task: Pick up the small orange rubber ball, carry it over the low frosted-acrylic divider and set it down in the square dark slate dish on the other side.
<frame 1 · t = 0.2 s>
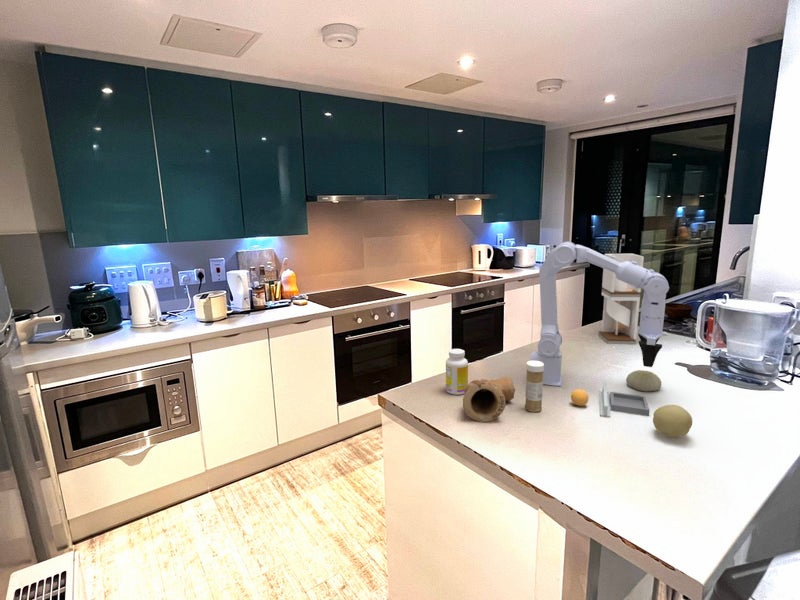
hand: (647, 362, 123), 10 cm above the counter, fingers open, 7 cm apart
ball: (579, 397, 118), point 2 cm above the counter
sprinkles bottle: (533, 409, 117), on the counter
tall curved cream stand: (616, 340, 176), on the counter
clay pipe: (489, 411, 117), on the counter
divider: (604, 404, 119), on the counter
supplement bottle: (456, 391, 130), on the counter
dish: (628, 406, 117), on the counter
sea urchin shell: (642, 387, 130), on the counter
potato: (670, 436, 102), on the counter
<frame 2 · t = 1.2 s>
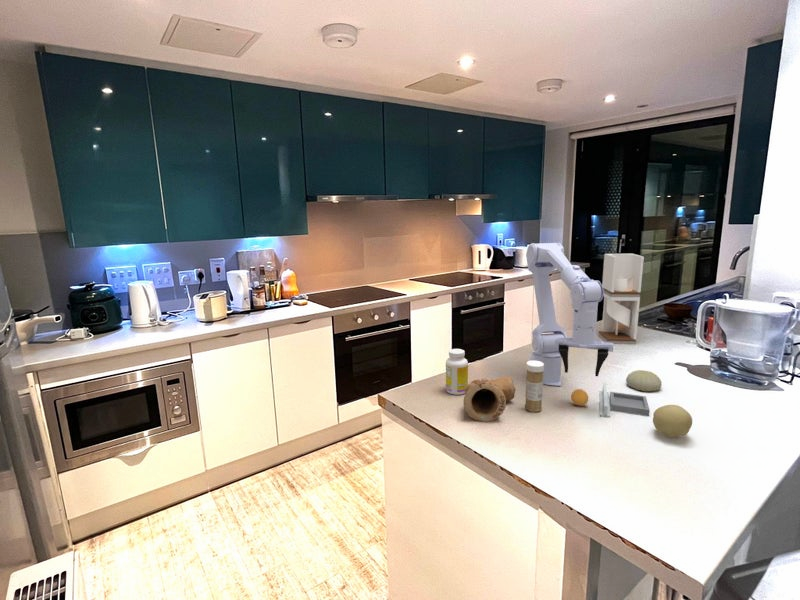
hand: (581, 373, 117), 9 cm above the counter, fingers open, 7 cm apart
nothing on the counter moved.
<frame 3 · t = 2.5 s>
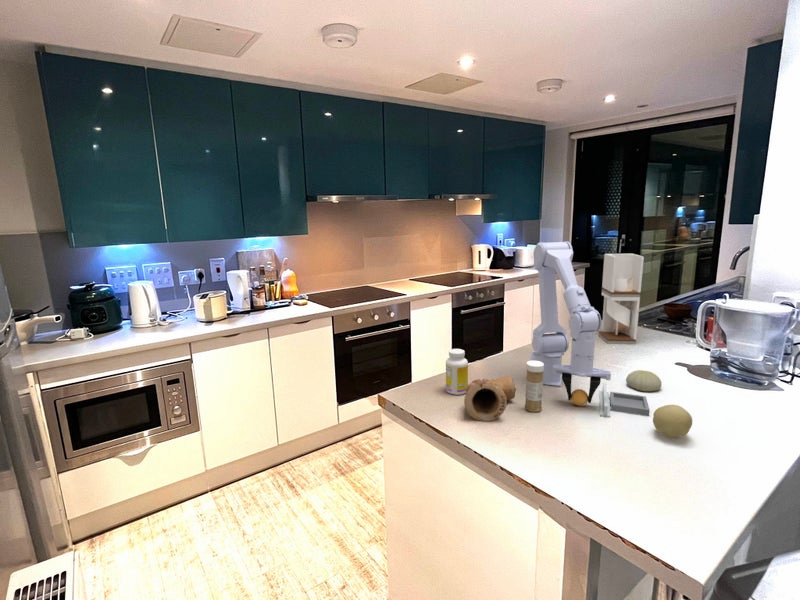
hand: (579, 400, 119), 1 cm above the counter, fingers closed on ball, 4 cm apart
ball: (579, 397, 118), point 2 cm above the counter, touching gripper
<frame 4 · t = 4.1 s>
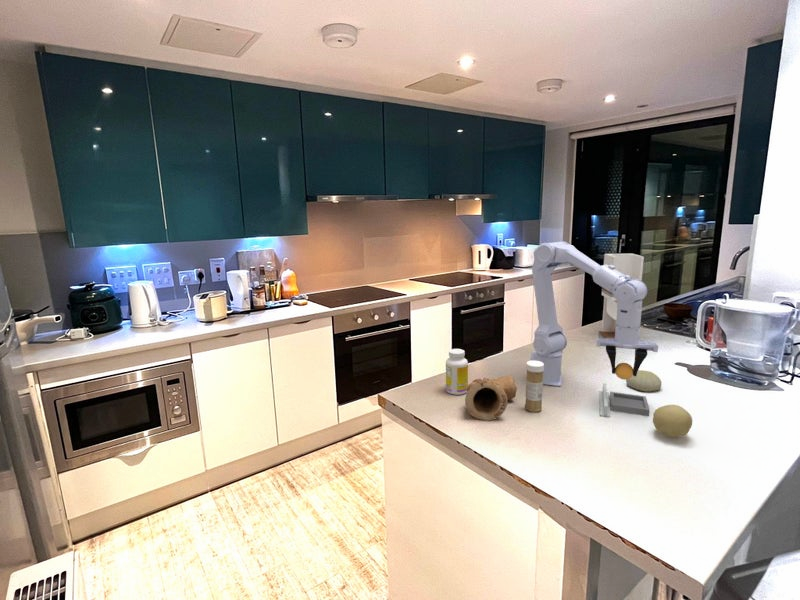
hand: (623, 373, 116), 10 cm above the counter, fingers closed on ball, 4 cm apart
ball: (624, 371, 115), point 10 cm above the counter, touching gripper
when the fingers open (3 cm above the counter, at t = 5.9 s): ball stays where it is, resting on dish.
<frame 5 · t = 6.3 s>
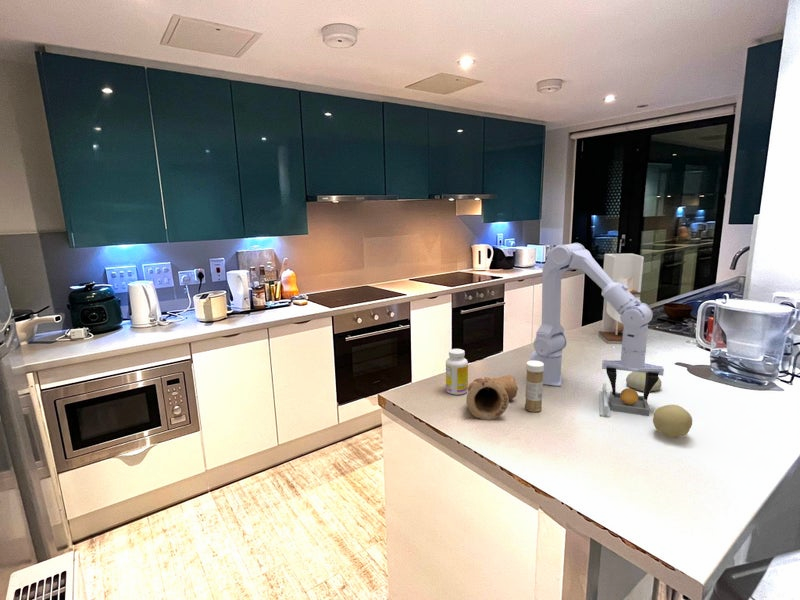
hand: (629, 395, 117), 3 cm above the counter, fingers open, 7 cm apart
ball: (629, 396, 117), point 3 cm above the counter, touching dish
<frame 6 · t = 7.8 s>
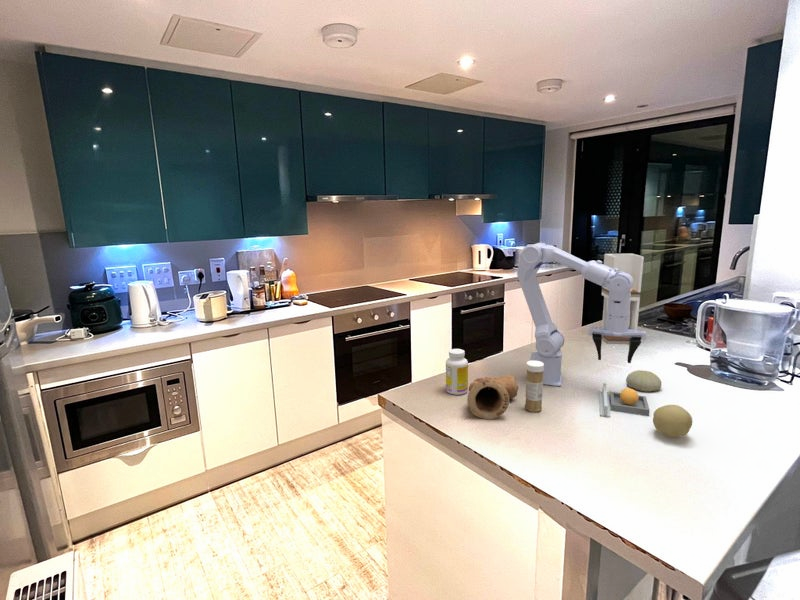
hand: (614, 360, 123), 10 cm above the counter, fingers open, 7 cm apart
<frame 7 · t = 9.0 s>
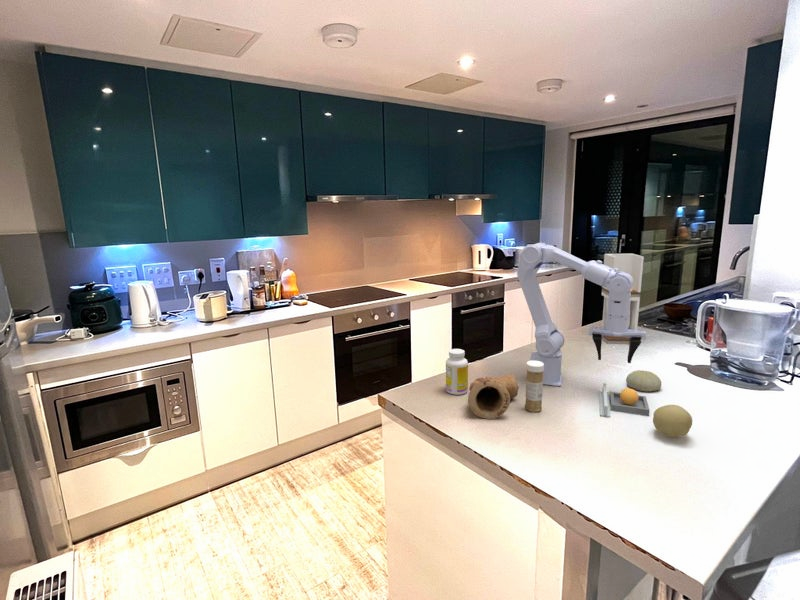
hand: (614, 360, 123), 10 cm above the counter, fingers open, 7 cm apart
at the end: ball 0.1 cm off-centre on the dish, point 2.8 cm above the dish's base; the gripper is holding nothing; ball inside the target area (6.5 cm from its centre), point 2.8 cm above the counter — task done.
